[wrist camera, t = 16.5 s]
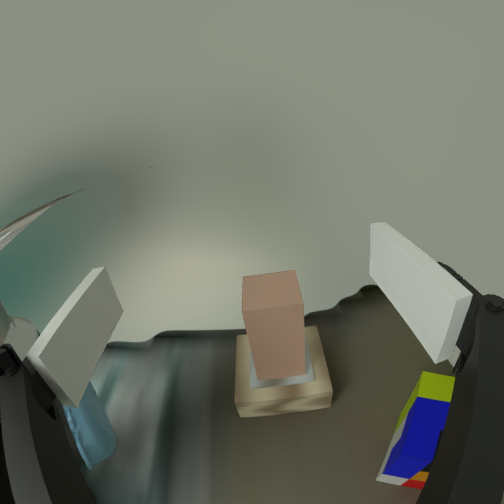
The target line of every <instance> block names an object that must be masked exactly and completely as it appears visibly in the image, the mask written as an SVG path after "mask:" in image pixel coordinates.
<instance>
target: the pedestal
mask: <svg viewBox="0 0 504 504" xmlns="http://www.w3.org/2000/svg"><path fill="white" fill-rule="evenodd" d="M304 335H305V375H300V376H293V377H285V378H277V379H268V380H258V379H257V375H256V371H255V366H254V362H253V358H252V354H251V349H250V345H249V341H248V336H247V334H246V335H237V346H236V371H235V398H234V403H235V406H236V408H237V411H238V413H239V415H240V418H242V417H257V416H269V415H278V414H287V413H295V412H302V411H309V410H315V409H321V408H327V407H331V401H332V395H333V389H332V385H331V380H330V376H329V372H328V368H327V364H326V360H325V356H324V352H323V348H322V344H321V340H320V336H319V333H318V329H317V325H316V326H309V327H304Z"/></svg>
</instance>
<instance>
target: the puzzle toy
mask: <svg viewBox="0 0 504 504" xmlns="http://www.w3.org/2000/svg"><path fill="white" fill-rule="evenodd" d="M454 382H455V377H452V376H446V375H441V374H435V373H430V372H425V371H423V372H422V374H421V376H420V378H419V380H418V382H417V384H416V386H415V388H414V390H413V392H412V394H411V396H410V398H409V400H408V401H407V403H406V405H405V407H404V409H403V410H402V412H401V414H400V417H399V420H398V423H397V426H396V429H395V432H394V435H393V438H392V441H391V443H390V446H389V449H388V451H387V454H386V456H385V459H384V461H383V464H382V466H381V469H380V471H379V473H378V476H377V478H376V480H377V481H381V482H385V483H390V484H395V485H401V486H406V487H412V488H419V489H423V487H424V484H425V482H426V480H427V477H428V475H429V472H430V469H431V467H432V464H433V461H434V458H435V455H436V452H437V449H438V446H439V443H440V440H441V437H442V433H443V430H444V426H445V422H446V419H447V415H448V410H449V406H450V402H451V397H452V392H453V387H454Z"/></svg>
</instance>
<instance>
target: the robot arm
mask: <svg viewBox="0 0 504 504" xmlns="http://www.w3.org/2000/svg"><path fill="white" fill-rule="evenodd" d="M370 243H371V244H370V272H369V275H370V276H371V277H372V278H373V280H374V281H375V282H376V283H377V285H378V286H379V287H380V289H381V290H382V291H383V292H384V294H385V295H386V296H387V298H388V299H389V300H390V301H391V303H392V304H393V305H394V307H395V308H396V309H397V311H398V312H399V313H400V315H401V316H402V317H403V319H404V320H405V322H406V323H407V324H408V326H409V327H410V328H411V330H412V331H413V333H414V334H415V335H416V337H417V338H418V340H419V341H420V342H421V344H422V345H423V347H424V348H425V350H426V351H427V353H428V354H429V356H430V357H431V358H432V360H433V361H434V363H435V364H437V363H439V362H441V361H444V360H446V359H449V358H451V356H452V354H453V351H454V349H455V346H456V345H457V347H458V348H459V349H460V351H461V353H460V355H459V357H458V360H457V362H456V364H455V366H454V368H453V371H452V373H455V370H456V369H457V370H456V376H455V382H454V387H453V392H452V397H451V402H450V406H449V410H448V415H447V419H446V422H445V426H444V430H443V433H442V437H441V440H440V443H439V446H438V449H437V452H436V455H435V458H434V461H433V464H432V467H431V469H430V472H429V475H428V477H427V480H426V482H425V484H424V487H423V489H422V491H421V494H420V496H419V498H418V500H417V502H416V504H500V503H501V499H502V496H503V492H504V299H503V298H501V297H499V296H496V295H490V294H487V295H484V296H483V295H481V294H480V293H479V292H478V291H477V290H476V289H475V288H474V287H473V286H471V285H470V284H469V283H468V282H467V281H466V280H464V279H463V278H462V277H461V276H460V275H459V274H457V273H456V272H455V271H454V270H453V269H452V268H450V267H449V266H447V265H445V264H443V263H441V262H435V261H434V260H433V259H432V258H431V257H429V256H428V255H427V254H426V253H424V252H423V251H422V250H420V249H419V248H418V247H417V246H416V245H414V244H413V243H412V242H411V241H409V240H408V239H407V238H405V237H404V236H403V235H401V234H400V233H399V232H397V231H396V230H395V229H393V228H392V227H391V226H389V225H388V224H387V223H385V222H380V223H373V224H371V241H370ZM122 313H123V309H122V307H121V304H120V302H119V300H118V298H117V295H116V293H115V290H114V288H113V285H112V283H111V281H110V278H109V275H108V273H107V270H106V268H105V267H100V268H94V269H93V270H92V271H91V272H90V273H89V274H88V275H87V277H86V278H85V279H84V280H83V282H81V284H80V285H79V286H78V287H77V288H76V290H75V291H74V292H73V293H72V294H71V296H70V297H69V298H68V300H67V301H66V302H65V303H64V304H63V306H62V307H61V308H60V310H59V311H58V312H57V313H56V315H55V316H54V318H53V319H52V320H51V321H50V323H49V324H48V325H47V327H46V328H45V330H44V331H43V332H42V333H41V335H40V334H39V332H38V330H37V329H36V327H35V326H34V324H33V323H32V322H31V321H29V320H27V319H25V318H20V317H16V316H10V315H9V314H8V313H7V312H6V310H5V308H4V306H3V305H2V303H1V301H0V504H96V503H95V501H94V499H93V497H92V495H91V493H90V491H89V489H88V487H87V485H86V483H85V481H84V478H83V476H82V474H81V472H84V471H86V470H88V469H89V470H90V469H93V468H94V465H96V464H98V463H99V462H101V461H103V460H105V459H106V458H108V457H110V456H111V455H112V454H113V453H114V451H115V449H116V437H115V434H114V431H113V428H112V426H111V423H110V421H109V419H108V417H107V415H106V412H105V410H104V408H103V406H102V404H101V402H100V400H99V398H98V396H97V394H96V392H95V390H94V388H93V386H92V384H91V382H90V379H91V376H92V374H93V372H94V370H95V368H96V365H97V363H98V361H99V359H100V357H101V355H102V353H103V351H104V349H105V347H106V345H107V343H108V340H109V339H110V337H111V334H112V332H113V331H114V329H115V327H116V325H117V323H118V321H119V319H120V317H121V315H122Z"/></svg>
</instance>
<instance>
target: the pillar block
mask: <svg viewBox="0 0 504 504" xmlns="http://www.w3.org/2000/svg"><path fill="white" fill-rule="evenodd" d="M242 288H243V289H242V314H243V318H244V323H245V328H246V332H247V336H248V341H249V345H250V349H251V354H252V358H253V362H254V366H255V371H256V375H257V379H258V380H268V379H277V378H285V377H293V376H300V375H305V335H304V310H303V300H302V296H301V292H300V288H299V284H298V280H297V277H296V272H295V270H291V271H284V272H276V273H268V274H261V275H254V276H245V277H243V286H242Z"/></svg>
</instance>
